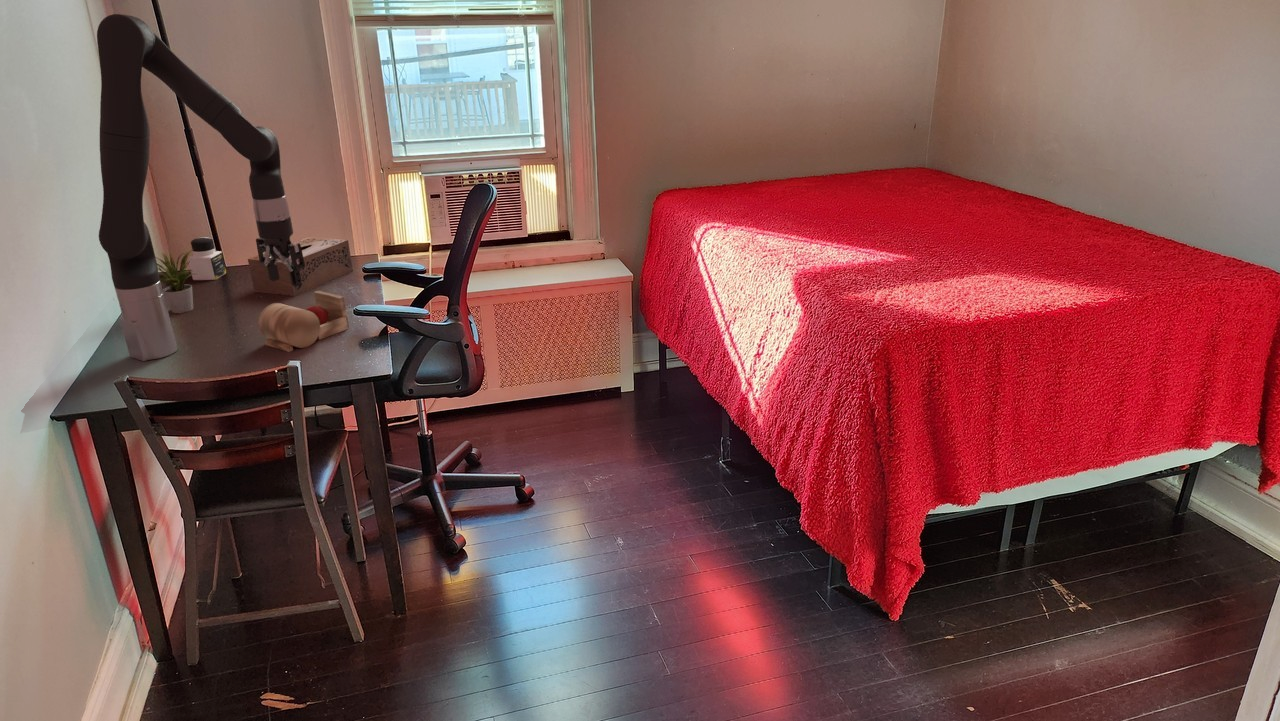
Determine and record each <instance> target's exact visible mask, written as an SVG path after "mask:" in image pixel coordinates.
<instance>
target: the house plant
mask: <svg viewBox="0 0 1280 721" xmlns="http://www.w3.org/2000/svg"><path fill="white" fill-rule="evenodd" d="M192 252H193V250H192V249H191V250H189V251H186V252H183V253H181V254H179V256H178V258H177V260H176V264H175V260H174V258H173V255H172V254H171V253H169V256H170V257H168V255H166V254H165V253H163V252H161V255H162V257H163V259H164V260H163V259H161V258H158V257H157V256H155V258H156V260H158V261H160V262H161V263H162V264H163V265H164V266H165V267H166V268H165V267H164V266H162V265H161V264H159V263H157V267H158V271H160V272H161V273H163V274H161V273H158V274H159V278H160V282H161V284H164V285H166V286H167V287H165V288H162V290H163V294H164V298H166V299H165V300H166V301H167V304H168V305H169V308H170V309H171V312H172V313H174V314H183V313H188V312H191V311H193V310H194V299H193V298H194V297H193V296H194V295H193V286H192V284H187V283H185V282H186V280H187V279H188V278H189V277H190V276H191V277H192V275H194V274H192V273H191V271H192V270H191V269H190V270H186V269H187V266H188V265H189V262H190V261H188V258H189V257H190V253H192ZM182 256H183V257H182ZM181 257H182V258H181ZM169 258H170V259H169ZM180 259H181V261H180V265H179V260H180ZM191 259H192V258H191ZM191 259H190V260H191ZM187 261H188V262H187ZM178 265H179V266H180V267H179V272H178ZM189 272H190V273H191V274H190V273H189ZM192 272H193V271H192ZM196 275H197V274H196Z"/></svg>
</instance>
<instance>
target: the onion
mask: <svg viewBox="0 0 1280 721" xmlns="http://www.w3.org/2000/svg"><path fill="white" fill-rule="evenodd" d="M304 310H308V311H311V312H313V313H314V314H315V315H316V316H317V317H318V319H319V322H320V325H322V324H325V323H327V321H328V316H330V314H329V312H327V311H326V310H325V309H324V308H322V307H320V306H316V305H310V306H308V307H307V308H305V309H304Z"/></svg>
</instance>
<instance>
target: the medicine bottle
mask: <svg viewBox="0 0 1280 721" xmlns="http://www.w3.org/2000/svg"><path fill="white" fill-rule="evenodd" d="M190 244H191V245H190V246H191V250H193V251H192V253H193V254H192V255H191V256H190V255H189V256H188V258H187V261H188V262H189V261H190V262H189V264H188V265H189V267H190V268H189V269H190V270H192V271H193V272H192V271H190V273H191V274H194V275H191V277H192V280H193V281H216V280H218V279H219V278H221V277H222V276H225V275H226V274H227V269H226V268H227V267H226V265H225V260H224V257H223V256H224V255H223V252H222V251H221V250H220V251H219V250H216V248H215V243H214V239H212V237H208V236H207V237H206V236H204V237H203V236H202V237H197V238H193V239H192V240H191V241H190ZM191 258H192V259H191ZM190 259H191V260H190ZM196 274H197V275H196Z"/></svg>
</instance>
